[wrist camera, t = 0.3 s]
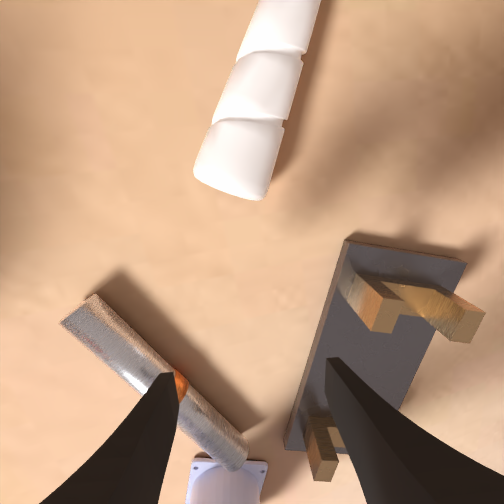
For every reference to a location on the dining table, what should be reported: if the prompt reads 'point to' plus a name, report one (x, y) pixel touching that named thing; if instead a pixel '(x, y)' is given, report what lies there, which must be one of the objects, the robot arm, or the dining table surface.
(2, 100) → the dining table surface
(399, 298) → the grey tube holder
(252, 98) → the unicorn horn
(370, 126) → the dining table surface
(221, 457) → the tube
